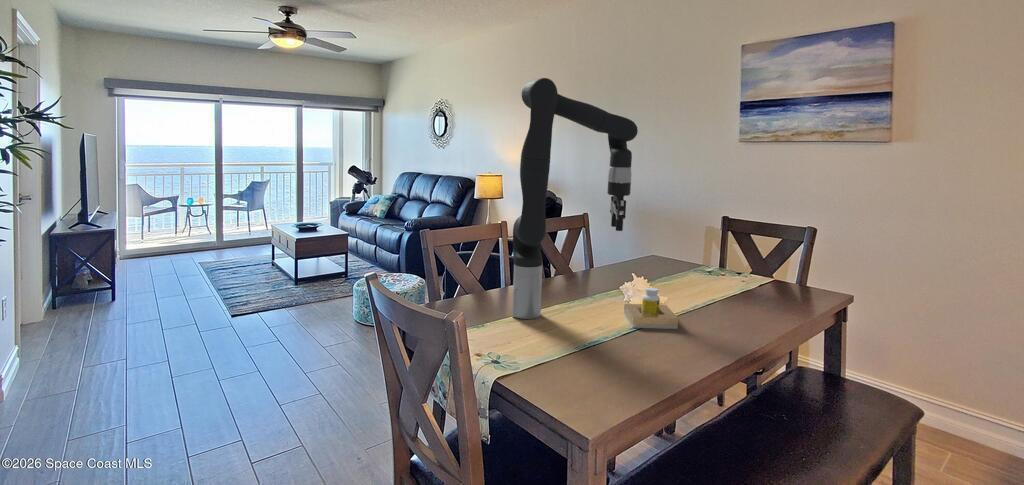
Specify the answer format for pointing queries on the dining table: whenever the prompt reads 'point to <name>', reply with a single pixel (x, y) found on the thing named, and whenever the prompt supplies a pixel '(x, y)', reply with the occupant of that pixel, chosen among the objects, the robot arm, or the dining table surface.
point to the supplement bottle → (650, 301)
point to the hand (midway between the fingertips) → (616, 228)
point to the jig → (650, 317)
